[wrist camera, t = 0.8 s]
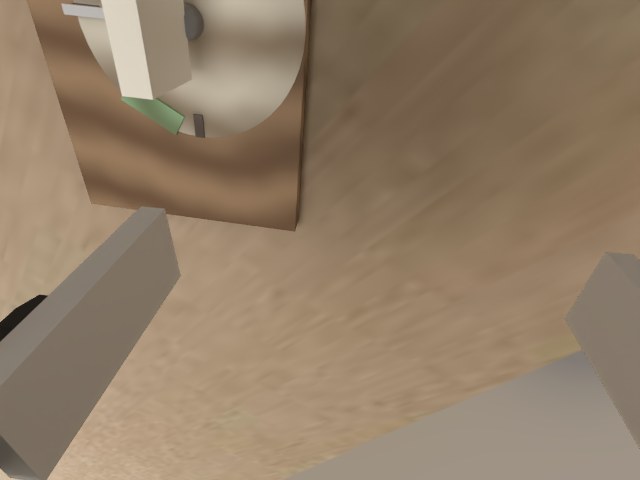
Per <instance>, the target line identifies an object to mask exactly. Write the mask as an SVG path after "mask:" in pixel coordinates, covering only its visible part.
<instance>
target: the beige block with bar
mask: <svg viewBox="0 0 640 480" xmlns="http://www.w3.org/2000/svg"><path fill="white" fill-rule="evenodd" d="M101 3H102V7H96V6H87V5H77V4H68V3H61V5H62V8H63V12H64V14H65V15H74V16H83V17H92V18H101V19H105V21H106V26H107V30H108V35H109V39H110V44H111V49H112V53H113V58H114V62H115V67H116V71H117V76H118V81H119V85H120V90H121V94H122V96H125V97H133V98H142V99H150V100H154V99H156V98H158V97H160V96H162V95H163V94H165V93H167V92H169V91H171V90H173V89H175V88H177V87H179V86H181V85H183V84H185V83H187V82H188V81H190V80H192V75H191V66H190V57H189V48H188V41H190V40H193V39H196V38H198V37H199V36H200V35H201V34H202V32H203V29H204V20H203V17H202V15H201V13H200V11H199V10H198V9H197V8H196V7H195V6H194V5H192V4H189V3H183V0H101Z"/></svg>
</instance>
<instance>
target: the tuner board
mask: <svg viewBox="0 0 640 480" xmlns="http://www.w3.org/2000/svg"><path fill="white" fill-rule="evenodd" d="M27 2H28V5H29V8H30V12H31V15H32V18H33V21H34V24H35V27H36V31H37V34H38V37H39V40H40V43H41V46H42V49H43V53H44V56H45V59H46V62H47V65H48V68H49V72H50V75H51V78H52V81H53V84H54V87H55V90H56V94H57V97H58V100H59V103H60V106H61V109H62V113H63V116H64V119H65V122H66V125H67V128H68V131H69V135H70V138H71V141H72V144H73V147H74V150H75V154H76V157H77V160H78V163H79V166H80V169H81V172H82V176H83V179H84V182H85V185H86V188H87V191H88V195H89V198H90V201H91V204H98V205H105V206H113V207H120V208H127V209H135V210H138V209H139V208H140V207H141V206H143V207H153V208H163V209H165V212H166V214H171V215H179V216H186V217H193V218H201V219H208V220H215V221H223V222H230V223H237V224H245V225H252V226H259V227H267V228H274V229H281V230H289V231H295V230H296V226H297V223H298V215H299V198H300V181H301V165H302V148H303V131H304V114H305V97H306V80H307V63H308V46H309V30H310V13H311V0H183V3H189V4H192V5H194V6H195V7H196V8H197V9H198V10H199V11H200V13H201V15H202V17H203V20H204V29H203V32H202V34H201V35H200V36H199V37H198V38H196V39H193V40H190V41H188V48H189V57H190V66H191V75H192V80H190V81H188V82H187V83H185V84H183V85H181V86H179V87H177V88H175V89H173V90H171V91H169V92H167V93H165V94H163V95H162V96H160V97H158V98H156V99H154V100H150V99H142V98H133V97H125V96H122V94H121V90H120V85H119V81H118V76H117V71H116V67H115V62H114V58H113V53H112V49H111V44H110V39H109V35H108V30H107V26H106V21H105V19H101V18H92V17H83V16H74V15H65V14H64V12H63V8H62V5H61V3H68V4H77V5H87V6H96V7H102V3H101V0H27Z"/></svg>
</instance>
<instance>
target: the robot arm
mask: <svg viewBox="0 0 640 480" xmlns="http://www.w3.org/2000/svg"><path fill="white" fill-rule="evenodd" d="M180 276H181V275H180V271H179V267H178V262H177V258H176V254H175V250H174V246H173V241H172V237H171V233H170V229H169V224H168V220H167V216H166V212H165V209H163V208H153V207H143V206H141V207H140V208H139V209H138V210H137V211H136V212H135V213H134V214H133V215H132V216H131V217H130V218H129V219H128V220H127V221H126V222H125V223H123V224H122V225H121V226H120V227H119V228H118V229H117V230H116V231H115V232H114V233H113V234H112V235H111V236H110V237H109V238H108V239H107V240H106V241H105V242H104V243H103V244H102V245H101V246H100V247H98V248H97V249H96V250H95V251H94V252H93V253H92V254H91V255H90V256H89V257H88V258H87V259H86V260H85V261H84V262H83V263H82V264H81V265H80V266H79V267H78V268H77V269H76V270H75V271H73V272H72V273H71V274H70V275H69V276H68V277H67V278H66V279H65V280H64V281H63V282H62V283H61V284H60V285H59V286H58V287H57V288H56V289H55V290H54V291H53V292H52V293H51V294H50V295H48V296H46V295H38V296H36V297H35V298H33V299H31V300H29V301H28V302H26V303H24V304H23V305H21V306H19V307H17V308H16V309H14V310H13V311H12V312H11V313H10V314H9V315H8V316H7V317H6V318H5V319H3V320H2V321H1V322H0V468H1V469H2V470H3V471H4V472H5V473H6V474H7V475H8V476H9V477H10V478H15V479H22V480H47V478H48V476H49V475H50V473H51V472H52V470H53V469H54V467H55V466H56V464H57V463H58V461H59V460H60V458H61V457H62V455H63V454H64V452H65V451H66V449H67V448H68V446H69V445H70V443H71V442H72V440H73V439H74V437H75V435H76V434H77V432H78V431H79V429H80V428H81V426H82V425H83V423H84V422H85V420H86V419H87V417H88V416H89V414H90V413H91V411H92V410H93V408H94V407H95V405H96V404H97V402H98V401H99V399H100V397H101V396H102V394H103V393H104V391H105V390H106V388H107V387H108V385H109V384H110V382H111V381H112V379H113V378H114V376H115V375H116V373H117V372H118V370H119V369H120V367H121V366H122V364H123V363H124V361H125V360H126V358H127V356H128V355H129V353H130V352H131V350H132V349H133V347H134V346H135V344H136V343H137V341H138V340H139V338H140V337H141V335H142V334H143V332H144V331H145V329H146V328H147V326H148V325H149V323H150V322H151V320H152V319H153V317H154V315H155V314H156V312H157V311H158V309H159V308H160V306H161V305H162V303H163V302H164V300H165V299H166V297H167V296H168V294H169V293H170V291H171V290H172V288H173V287H174V285H175V284H176V282H177V281H178V279H179V277H180ZM565 320H566V322H567V323H568V325H569V327H570V328H571V330H572V332H573V334H574V335H575V337H576V339H577V341H578V342H579V344H580V346H581V348H582V349H583V351H584V353H585V355H586V356H587V358H588V359H589V361H590V363H591V365H592V367H593V368H594V370H595V372H596V373H597V375H598V377H599V379H600V381H601V382H602V384H603V386H604V387H605V389H606V391H607V393H608V394H609V396H610V398H611V399H612V401H613V403H614V405H615V407H616V408H617V410H618V412H619V414H620V415H621V417H622V419H623V421H624V422H625V424H626V426H627V427H628V429H629V431H630V433H631V434H632V436H633V438H634V440H635V441H636V443H637V445H638V446H639V448H640V260H639V259H638V258H637V257H636V256H635V255H633V254H622V253H612V252H606V253H605V254H604V256H603V257H602V259H601V261H600V262H599V264H598V266H597V267H596V269H595V270H594V272H593V274H592V275H591V277H590V279H589V280H588V282H587V283H586V285H585V287H584V288H583V290H582V291H581V293H580V295H579V296H578V298H577V300H576V301H575V303H574V304H573V306H572V308H571V309H570V311H569V313H568V314H567V316H566V317H565Z"/></svg>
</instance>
